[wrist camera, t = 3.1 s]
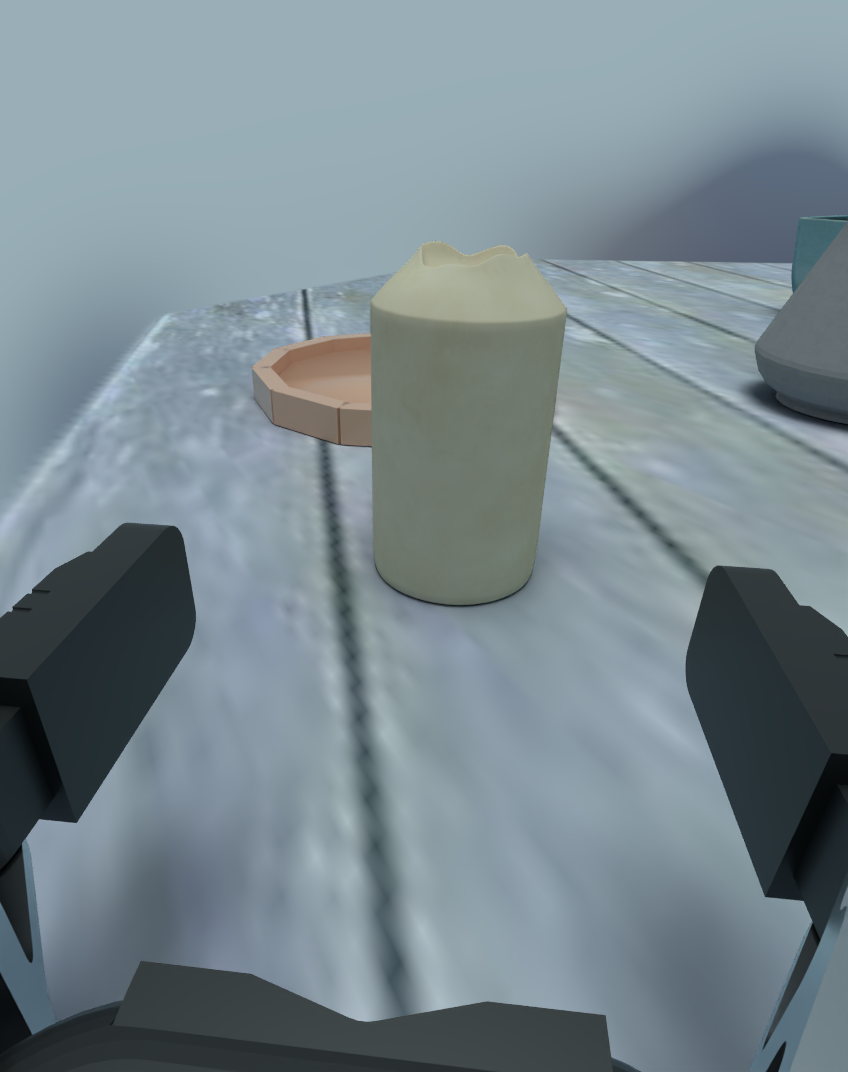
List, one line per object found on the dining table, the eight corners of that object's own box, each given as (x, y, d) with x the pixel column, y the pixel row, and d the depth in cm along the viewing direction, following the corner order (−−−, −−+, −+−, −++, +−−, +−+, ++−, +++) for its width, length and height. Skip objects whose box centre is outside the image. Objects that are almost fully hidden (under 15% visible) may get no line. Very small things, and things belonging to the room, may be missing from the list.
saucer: (466, 351, 49) (467, 326, 48) (613, 423, 36) (618, 391, 35) (234, 371, 43) (230, 342, 42) (306, 468, 29) (303, 430, 28)
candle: (339, 561, 23) (326, 242, 18) (446, 510, 26) (459, 233, 21) (462, 630, 19) (488, 264, 14) (565, 562, 23) (613, 249, 18)
